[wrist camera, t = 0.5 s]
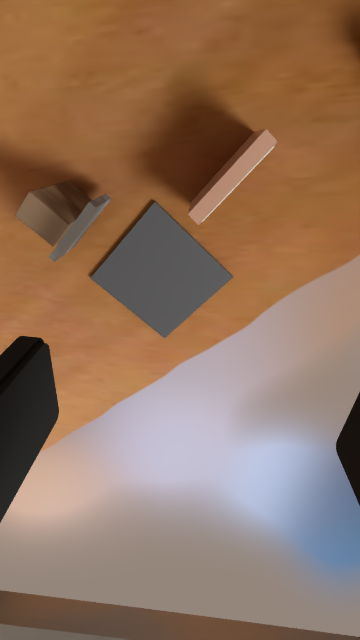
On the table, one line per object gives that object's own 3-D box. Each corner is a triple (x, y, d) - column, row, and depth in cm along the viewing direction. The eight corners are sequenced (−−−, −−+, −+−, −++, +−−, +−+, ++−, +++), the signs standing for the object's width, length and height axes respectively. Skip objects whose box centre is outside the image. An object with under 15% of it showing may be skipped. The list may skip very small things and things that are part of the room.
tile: (191, 201, 38) (187, 214, 31) (254, 131, 34) (266, 128, 27) (200, 211, 39) (199, 225, 32) (264, 143, 35) (278, 143, 28)
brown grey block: (47, 214, 40) (3, 233, 32) (81, 164, 37) (42, 170, 28) (80, 242, 42) (47, 267, 33) (115, 196, 38) (89, 211, 30)
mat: (91, 276, 44) (90, 278, 44) (155, 201, 38) (154, 201, 38) (165, 336, 48) (164, 338, 48) (232, 275, 42) (232, 277, 42)
